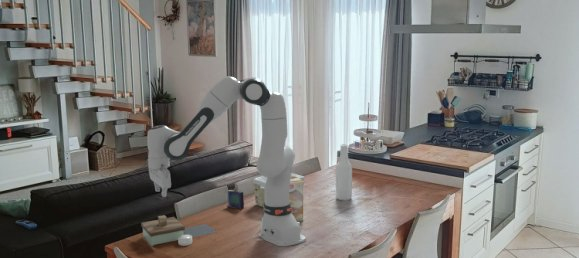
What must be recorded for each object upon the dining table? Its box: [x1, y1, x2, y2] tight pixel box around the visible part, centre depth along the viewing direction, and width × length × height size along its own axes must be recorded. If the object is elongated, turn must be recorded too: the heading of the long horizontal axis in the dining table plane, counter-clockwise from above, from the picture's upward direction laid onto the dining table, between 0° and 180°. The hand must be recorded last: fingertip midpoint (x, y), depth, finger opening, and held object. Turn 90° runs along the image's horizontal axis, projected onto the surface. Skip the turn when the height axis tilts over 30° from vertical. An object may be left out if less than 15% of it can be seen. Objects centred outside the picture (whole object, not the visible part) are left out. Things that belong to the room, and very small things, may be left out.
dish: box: [142, 228, 185, 248], centre depth 230 cm, size 14×14×5 cm
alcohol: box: [335, 143, 353, 201], centre depth 285 cm, size 9×9×30 cm
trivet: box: [183, 223, 218, 238], centre depth 238 cm, size 13×13×1 cm
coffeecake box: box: [289, 178, 304, 222], centre depth 252 cm, size 15×7×20 cm, turn 105°
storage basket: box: [252, 172, 305, 208], centre depth 278 cm, size 24×16×15 cm
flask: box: [227, 186, 245, 210], centre depth 273 cm, size 9×3×11 cm, turn 65°
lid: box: [140, 214, 186, 237], centre depth 230 cm, size 15×15×5 cm
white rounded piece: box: [177, 234, 193, 247], centre depth 223 cm, size 6×6×4 cm
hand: (161, 193), depth 227 cm, fingers open, 8 cm apart
